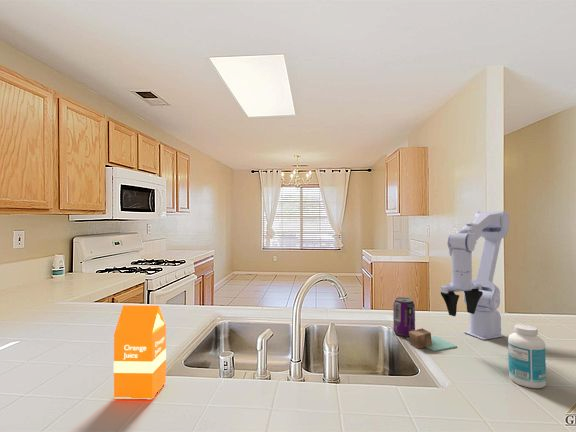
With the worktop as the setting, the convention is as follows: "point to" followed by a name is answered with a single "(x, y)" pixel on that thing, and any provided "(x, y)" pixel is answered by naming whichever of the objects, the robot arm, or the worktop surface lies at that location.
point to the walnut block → (420, 338)
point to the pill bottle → (527, 357)
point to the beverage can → (403, 316)
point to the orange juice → (139, 352)
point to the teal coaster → (440, 344)
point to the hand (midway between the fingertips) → (461, 314)
